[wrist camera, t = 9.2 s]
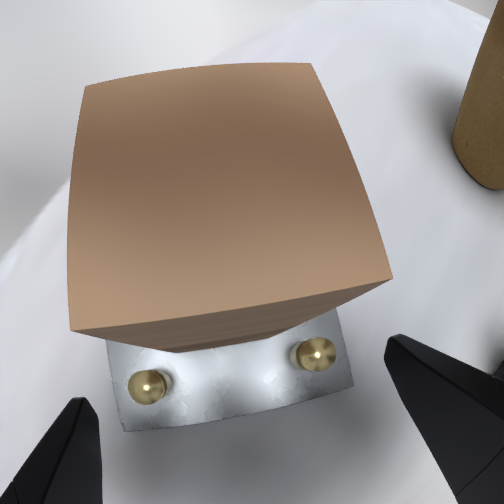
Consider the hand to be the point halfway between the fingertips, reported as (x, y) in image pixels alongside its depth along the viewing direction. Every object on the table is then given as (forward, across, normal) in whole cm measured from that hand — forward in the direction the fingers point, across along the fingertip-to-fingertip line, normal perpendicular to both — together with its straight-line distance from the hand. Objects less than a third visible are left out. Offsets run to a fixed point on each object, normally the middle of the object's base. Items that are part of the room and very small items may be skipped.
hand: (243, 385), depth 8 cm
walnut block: (+9, 0, +3) cm, 9 cm away
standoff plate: (+10, 0, +4) cm, 10 cm away
